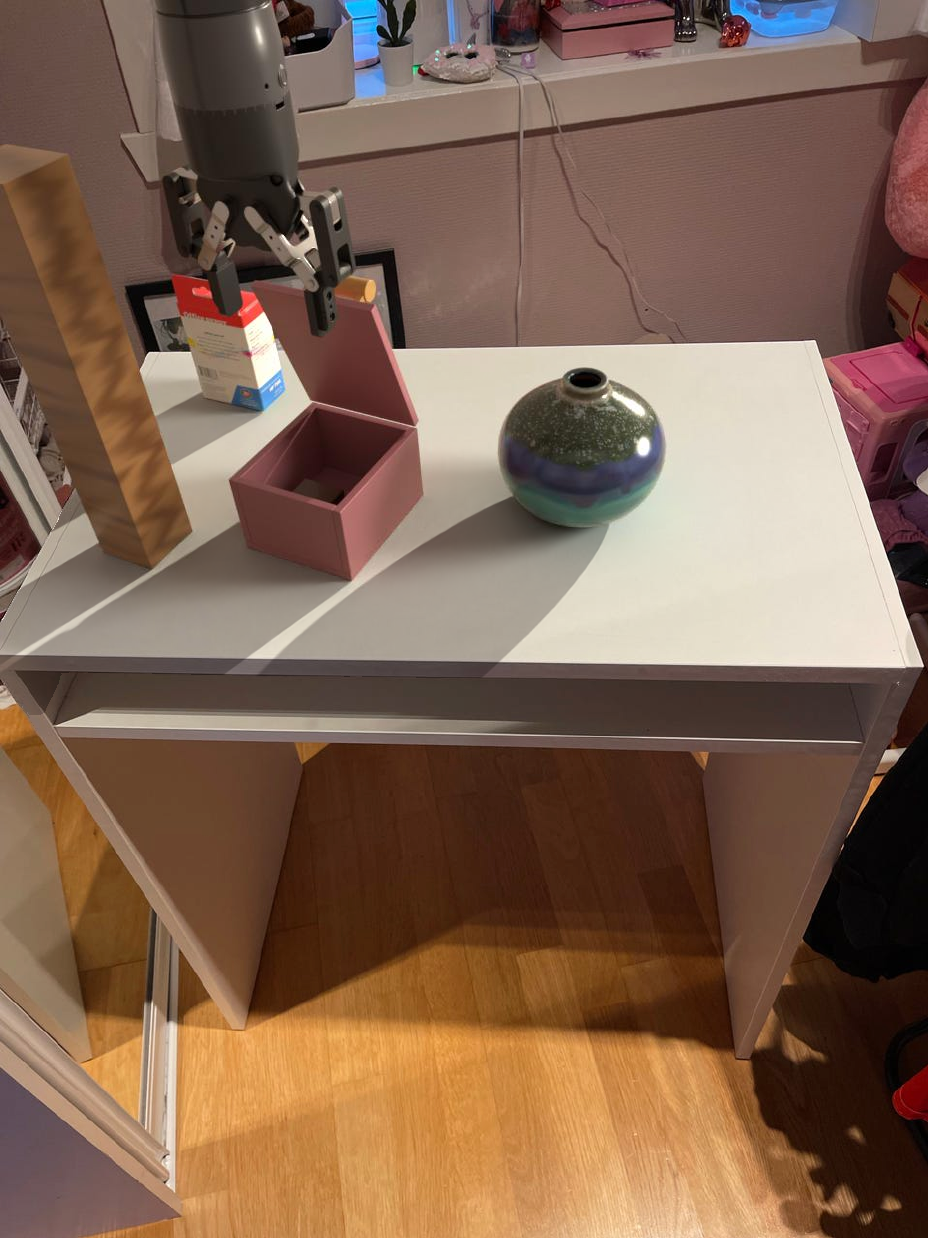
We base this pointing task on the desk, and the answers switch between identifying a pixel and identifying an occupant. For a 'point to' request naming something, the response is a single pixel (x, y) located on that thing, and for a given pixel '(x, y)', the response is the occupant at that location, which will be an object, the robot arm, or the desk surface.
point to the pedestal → (83, 359)
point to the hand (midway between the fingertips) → (277, 321)
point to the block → (320, 491)
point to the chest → (337, 456)
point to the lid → (341, 350)
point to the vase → (581, 449)
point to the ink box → (230, 347)
